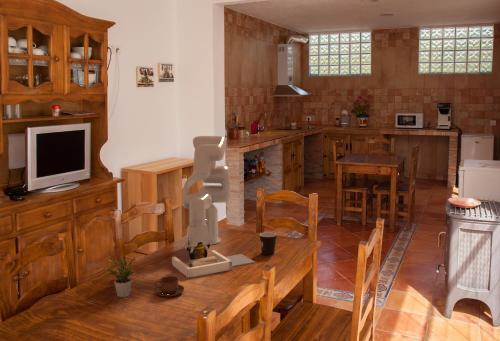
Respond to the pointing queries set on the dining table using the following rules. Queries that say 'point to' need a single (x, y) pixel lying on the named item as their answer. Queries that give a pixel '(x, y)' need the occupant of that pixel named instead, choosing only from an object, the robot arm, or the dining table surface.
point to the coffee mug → (268, 243)
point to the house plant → (122, 277)
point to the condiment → (198, 252)
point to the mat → (239, 260)
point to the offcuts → (204, 261)
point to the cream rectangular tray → (204, 266)
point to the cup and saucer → (168, 286)
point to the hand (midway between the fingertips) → (198, 258)
